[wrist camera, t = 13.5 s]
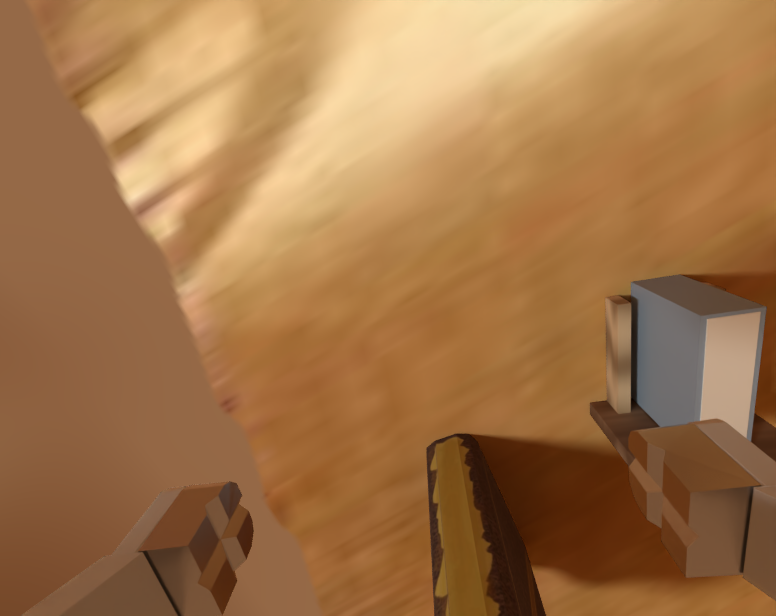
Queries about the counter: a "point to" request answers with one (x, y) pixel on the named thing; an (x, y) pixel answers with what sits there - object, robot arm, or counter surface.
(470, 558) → the book
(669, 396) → the box book
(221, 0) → the counter surface
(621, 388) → the wooden display stand
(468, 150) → the counter surface
